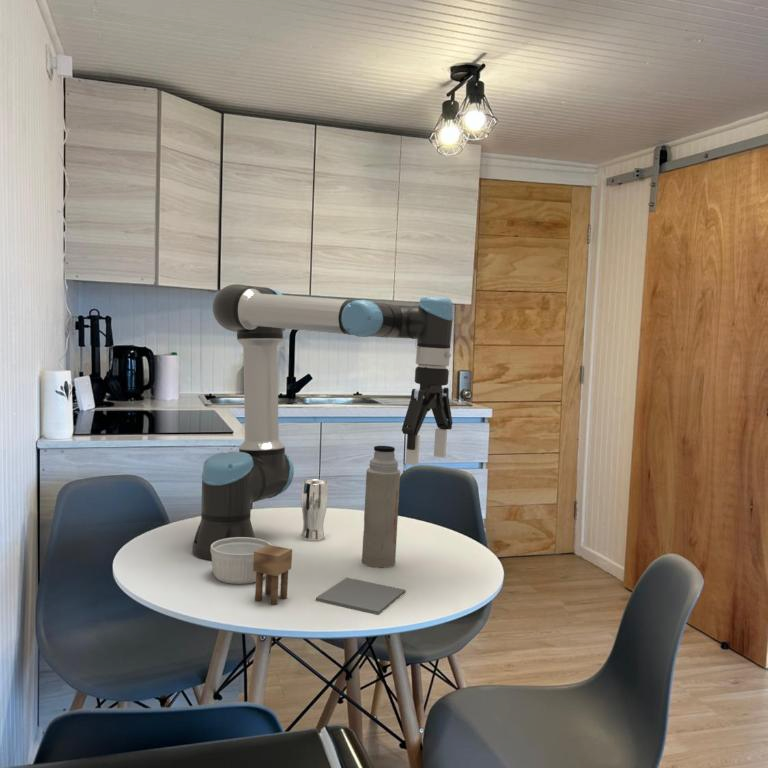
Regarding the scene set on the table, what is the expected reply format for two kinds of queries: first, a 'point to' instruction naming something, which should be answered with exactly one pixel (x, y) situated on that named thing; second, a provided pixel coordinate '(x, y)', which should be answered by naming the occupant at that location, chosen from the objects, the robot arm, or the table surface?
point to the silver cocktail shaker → (314, 508)
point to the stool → (272, 571)
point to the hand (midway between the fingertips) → (426, 460)
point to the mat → (361, 595)
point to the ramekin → (235, 559)
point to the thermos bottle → (381, 509)
